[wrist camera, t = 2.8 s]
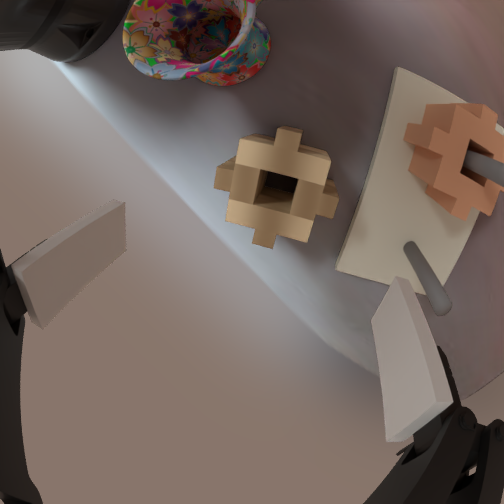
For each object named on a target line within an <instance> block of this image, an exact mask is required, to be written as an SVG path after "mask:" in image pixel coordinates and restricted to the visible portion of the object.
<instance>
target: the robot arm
mask: <svg viewBox="0 0 504 504" xmlns="http://www.w3.org/2000/svg"><path fill="white" fill-rule="evenodd" d="M129 1H130V0H0V51H5V50H15V49H29V50H31V51H33V52H36V53H38V54H40V55H42V56H45V57H47V58H49V59H51V60H54V61H59V62H73V61H78V60H80V59H83V58H85V57H86V56H88V55H90V54H91V53H92V52H94V51H95V50H96V49H97V48H99V47H100V46H101V45H102V44H103V43H104V42H105V41H106V39H107V38H108V37H109V36H110V35H111V34H112V32H113V31H114V30H115V28H116V27H117V25H118V24H119V22H120V20H121V19H122V17H123V15H124V13H125V11H126V9H127V6H128V4H129ZM125 251H126V230H125V202H121V201H117V200H112V201H110V202H108V203H106V204H105V205H103V206H101V207H99V208H97V209H96V210H94V211H92V212H90V213H89V214H87V215H85V216H84V217H82V218H80V219H79V220H77V221H75V222H74V223H72V224H70V225H69V226H67V227H66V228H64V229H62V230H61V231H59V232H58V233H56V234H55V235H53V236H52V237H50V238H49V239H46V240H44V241H43V242H41V243H40V244H38V245H37V246H36V247H34V248H32V249H31V250H30V252H29V251H28V252H27V253H25V254H24V255H22V256H21V257H20V258H18V259H17V260H16V261H14V262H13V263H12V264H10V265H9V266H8V267H5V263H4V260H3V257H2V253H1V249H0V499H1V500H2V501H3V502H4V504H43V502H42V499H41V496H40V494H39V491H38V490H37V488H36V486H35V485H34V484H33V482H32V481H31V479H30V477H29V475H28V470H27V465H26V459H25V453H24V445H23V436H22V426H21V410H20V371H21V354H22V344H23V343H22V342H23V335H24V327H25V318H24V314H25V313H26V312H28V314H29V316H30V319H31V321H32V322H33V323H34V324H36V325H37V326H38V327H40V328H41V329H44V328H45V327H46V326H47V325H48V324H49V323H50V322H51V320H52V319H53V318H54V317H55V316H56V315H57V314H58V313H59V312H60V311H61V310H62V309H63V308H64V307H65V306H66V305H67V304H68V303H69V302H70V301H71V300H72V299H73V298H75V297H76V296H77V295H78V294H79V293H80V292H81V291H82V290H83V289H84V288H85V287H86V286H87V285H88V284H89V283H90V282H91V281H93V280H94V279H95V278H96V277H97V276H98V275H99V274H100V273H101V272H102V271H104V270H105V269H106V268H107V267H108V266H109V265H110V264H111V263H113V262H114V261H115V260H116V259H117V258H118V257H119V256H121V255H122V254H123V253H124V252H125ZM371 324H372V330H373V335H374V341H375V347H376V353H377V359H378V366H379V373H380V381H381V389H382V397H383V408H384V419H385V431H386V442H403V441H405V440H406V439H407V438H409V437H410V436H411V435H413V437H414V442H413V443H411V444H410V445H408V446H406V447H405V448H403V449H402V450H400V451H399V452H398V453H397V454H396V455H397V456H398V455H400V454H401V453H403V452H404V453H403V455H402V456H401V458H400V459H399V461H398V462H397V463H396V465H395V466H394V467H393V469H392V470H391V471H390V473H389V474H388V475H387V476H386V478H385V479H384V480H383V481H382V483H381V484H380V485H379V486H378V487H377V489H376V490H375V491H374V492H373V493H372V494H371V496H370V497H369V498H368V499H367V500H366V501H365V502H364V503H363V504H500V503H501V498H502V493H503V488H504V422H503V421H502V420H500V419H496V420H494V421H493V422H492V423H490V424H489V425H488V426H484V425H481V424H478V423H477V419H476V417H475V415H474V413H473V412H472V411H471V410H470V409H469V408H467V407H462V406H461V402H460V398H459V395H458V391H457V388H456V384H455V381H454V378H453V377H452V372H451V369H450V368H449V367H450V366H449V363H448V360H447V357H446V355H445V354H444V352H443V351H442V349H441V348H440V346H436V344H435V341H434V339H433V336H432V333H431V331H430V328H429V325H428V323H427V320H426V318H425V316H424V313H423V311H422V308H421V306H420V304H419V301H418V299H417V297H416V295H415V292H414V290H413V288H412V286H411V284H410V282H409V280H408V279H404V278H401V277H398V276H395V277H394V279H393V281H392V283H391V285H390V287H389V289H388V291H387V293H386V294H385V296H384V298H383V300H382V302H381V303H380V305H379V307H378V309H377V310H376V312H375V314H374V316H373V317H372V319H371ZM475 466H477V467H476V472H475V473H474V474H472V475H470V476H469V470H470V469H472V468H474V467H475Z"/></svg>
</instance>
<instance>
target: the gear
mask: <svg viewBox="0 0 504 504" xmlns="http://www.w3.org/2000/svg"><path fill="white" fill-rule="evenodd" d="M302 133H303V130H300V129H297V128H292V127H288V126H282V127H279V128H277V133H276V137H275V138H273V137H269V136H264V135H260V134H252V135H249V136H246V137H243V138H240V140H239V145H238V151H237V156H235V157H233V158H231V159H230V160H228V161H226V162H225V163H223V164H221V165H219V166H218V167H217V170H216V176H215V183H214V188H215V189H219V190H224V191H228V192H230V195H229V201H228V207H227V213H226V219H225V221H227V222H231V223H235V224H239V225H243V226H247V227H250V228H254V229H255V232H254V237H253V241H252V244H256V245H260V246H264V247H267V248H271V249H273V246H274V242H275V239H276V235H280V236H284V237H288V238H291V239H295V240H299V241H302V242H306V243H307V241H308V238H309V235H310V231H311V228H312V225H313V222H314V219H315V215H320V216H323V217H327V218H330V219H333V217H334V214H335V211H336V208H337V204H338V201H339V196H338V193H337V190H336V187H335V184H334V181H333V180H330V179H327V175H328V172H329V168H330V164H331V160H330V157H329V155H328V153H327V151H324V150H320V149H317V148H313V147H309V146H306V145H302V144H300V142H301V137H302ZM268 171H271V172H275V173H279V174H283V175H286V176H290V177H294V178H298V179H297V183H296V187H295V191H294V193H290V192H286V191H283V190H279V189H275V188H271V187H267V186H265V182H266V177H267V173H268Z"/></svg>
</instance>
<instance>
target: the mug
mask: <svg viewBox="0 0 504 504" xmlns="http://www.w3.org/2000/svg"><path fill="white" fill-rule="evenodd" d="M261 2H262V0H135V2H134V3H133V5H132V7H131V8H130V10H129V12H128V14H127V17H126V20H125V23H124V28H123V46H124V50H125V53H126V55H127V57H128V59H129V61H130V62H131V63H132V65H133V66H134V67H135V68H136V69H138V70H139V71H140V72H142V73H143V74H145V75H147V76H149V77H152V78H156V79H161V80H181V79H187V78H191V77H194V76H195V77H196V78H198V79H199V80H201V81H203V82H205V83H207V84H211V85H216V86H228V85H234V84H237V83H240V82H243V81H245V80H247V79H249V78H250V77H252V76H253V75H254V74H256V73H257V72H258V71H259V70H260V69H261V68H262V66H263V65H264V64H265V62H266V60H267V58H268V56H269V53H270V47H271V40H270V35H269V32H268V30H267V28H266V26H265V25H264V24H263V23H262V21H261V20H259V19H258V18H257V17H255V15H256V7H257V6H258V5H259V4H260V3H261Z"/></svg>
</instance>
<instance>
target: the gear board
mask: <svg viewBox="0 0 504 504" xmlns="http://www.w3.org/2000/svg"><path fill="white" fill-rule="evenodd" d="M497 117H498V114H496V113H495V112H494V111H492V110H491V109H489V108H488V107H487V106H485V105H484V104H472V103H467V102H466V101H464V100H462V99H461V98H459V97H457V96H456V95H454V94H452V93H451V92H449V91H447V90H445V89H444V88H442V87H440V86H438V85H436V84H434V83H433V82H431V81H429V80H427V79H425V78H423V77H421V76H419V75H416V74H414V73H412V72H410V71H408V70H406V69H403V68H401V67H399V66H398V67H396V68H395V69H394V74H393V79H392V84H391V88H390V93H389V97H388V102H387V106H386V110H385V114H384V118H383V122H382V126H381V129H380V133H379V137H378V140H377V144H376V147H375V151H374V154H373V158H372V161H371V164H370V168H369V171H368V174H367V177H366V180H365V184H364V187H363V190H362V193H361V196H360V199H359V202H358V204H357V207H356V210H355V213H354V216H353V219H352V221H351V224H350V227H349V230H348V232H347V235H346V238H345V240H344V243H343V246H342V248H341V251H340V253H339V256H338V258H337V261H336V263H335V269H336V270H337V271H340V272H344V273H348V274H351V275H355V276H358V277H362V278H366V279H369V280H373V281H376V282H380V283H384V284H387V285H391V283H392V281H393V279H394V277H395V276H398V277H401V278H404V279H408V280H409V282H410V284H411V286H412V288H413V290H414V292H416V293H420V294H423V295H427V297H428V299H429V301H430V303H431V305H432V307H433V310H434V312H435V314H436V315H437V316H443V315H445V314H447V313H448V312H449V311H450V310H451V308H452V302H451V301H450V299H449V297H448V295H447V293H446V292H445V290H444V288H443V286H444V284H445V282H446V280H447V279H448V277H449V275H450V273H451V271H452V270H453V268H454V266H455V264H456V262H457V260H458V258H459V256H460V254H461V252H462V250H463V248H464V246H465V244H466V242H467V240H468V238H469V235H470V233H471V231H472V229H473V227H474V224H475V222H476V219H477V217H478V215H479V212H480V211H481V212H483V213H485V214H487V215H488V216H491V214H492V211H493V209H494V206H495V203H496V201H497V198H498V195H499V192H500V191H502V192H504V136H503V135H504V128H503V127H501V126H500V125H499V124H497Z"/></svg>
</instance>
